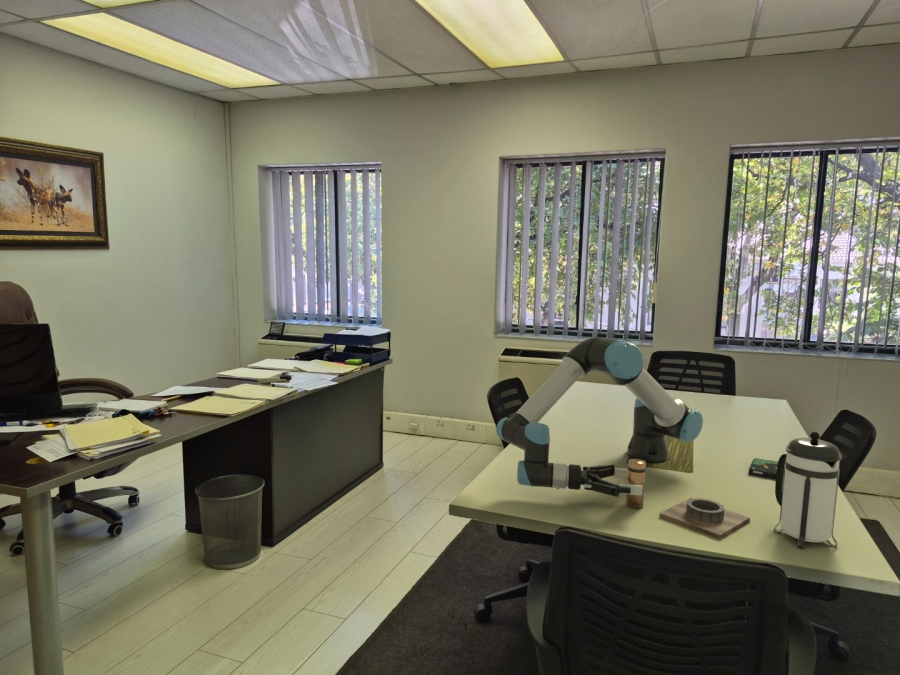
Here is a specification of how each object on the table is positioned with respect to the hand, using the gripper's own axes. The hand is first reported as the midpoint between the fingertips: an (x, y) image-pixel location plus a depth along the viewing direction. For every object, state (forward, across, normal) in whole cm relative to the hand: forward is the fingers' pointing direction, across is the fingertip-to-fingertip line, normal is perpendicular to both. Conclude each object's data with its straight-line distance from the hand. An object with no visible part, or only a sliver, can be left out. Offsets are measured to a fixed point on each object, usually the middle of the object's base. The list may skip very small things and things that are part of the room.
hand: (639, 481), depth 181 cm
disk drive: (+50, -42, -9) cm, 66 cm away
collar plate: (+18, +5, -8) cm, 20 cm away
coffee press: (+41, +12, -8) cm, 44 cm away
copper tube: (-1, 0, -8) cm, 8 cm away
